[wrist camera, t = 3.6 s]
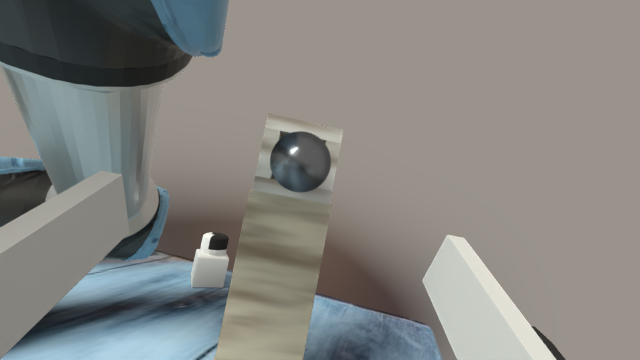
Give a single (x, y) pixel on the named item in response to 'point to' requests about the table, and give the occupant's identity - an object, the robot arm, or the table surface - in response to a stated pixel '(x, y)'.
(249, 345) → the bore stand
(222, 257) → the medicine bottle
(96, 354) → the table surface
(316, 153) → the plug rod
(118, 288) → the table surface
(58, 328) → the table surface
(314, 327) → the table surface
